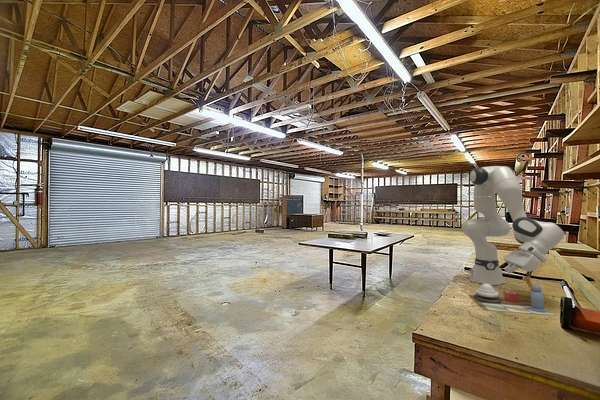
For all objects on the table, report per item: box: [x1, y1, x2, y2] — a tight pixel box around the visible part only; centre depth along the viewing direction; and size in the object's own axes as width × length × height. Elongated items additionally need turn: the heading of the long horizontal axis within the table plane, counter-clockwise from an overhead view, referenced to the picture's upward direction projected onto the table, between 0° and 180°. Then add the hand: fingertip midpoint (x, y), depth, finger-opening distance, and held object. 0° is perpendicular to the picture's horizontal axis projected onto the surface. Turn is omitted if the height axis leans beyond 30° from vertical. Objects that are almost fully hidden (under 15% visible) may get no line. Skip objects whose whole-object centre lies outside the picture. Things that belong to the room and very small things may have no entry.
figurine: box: [523, 275, 534, 299], centre depth 132 cm, size 8×6×12 cm
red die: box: [504, 290, 520, 303], centre depth 127 cm, size 4×4×4 cm
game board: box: [467, 293, 557, 320], centre depth 123 cm, size 22×26×2 cm
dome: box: [475, 284, 500, 298], centre depth 130 cm, size 9×9×5 cm
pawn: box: [530, 284, 547, 312], centre depth 115 cm, size 5×5×11 cm
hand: (507, 271), depth 128 cm, fingers closed
